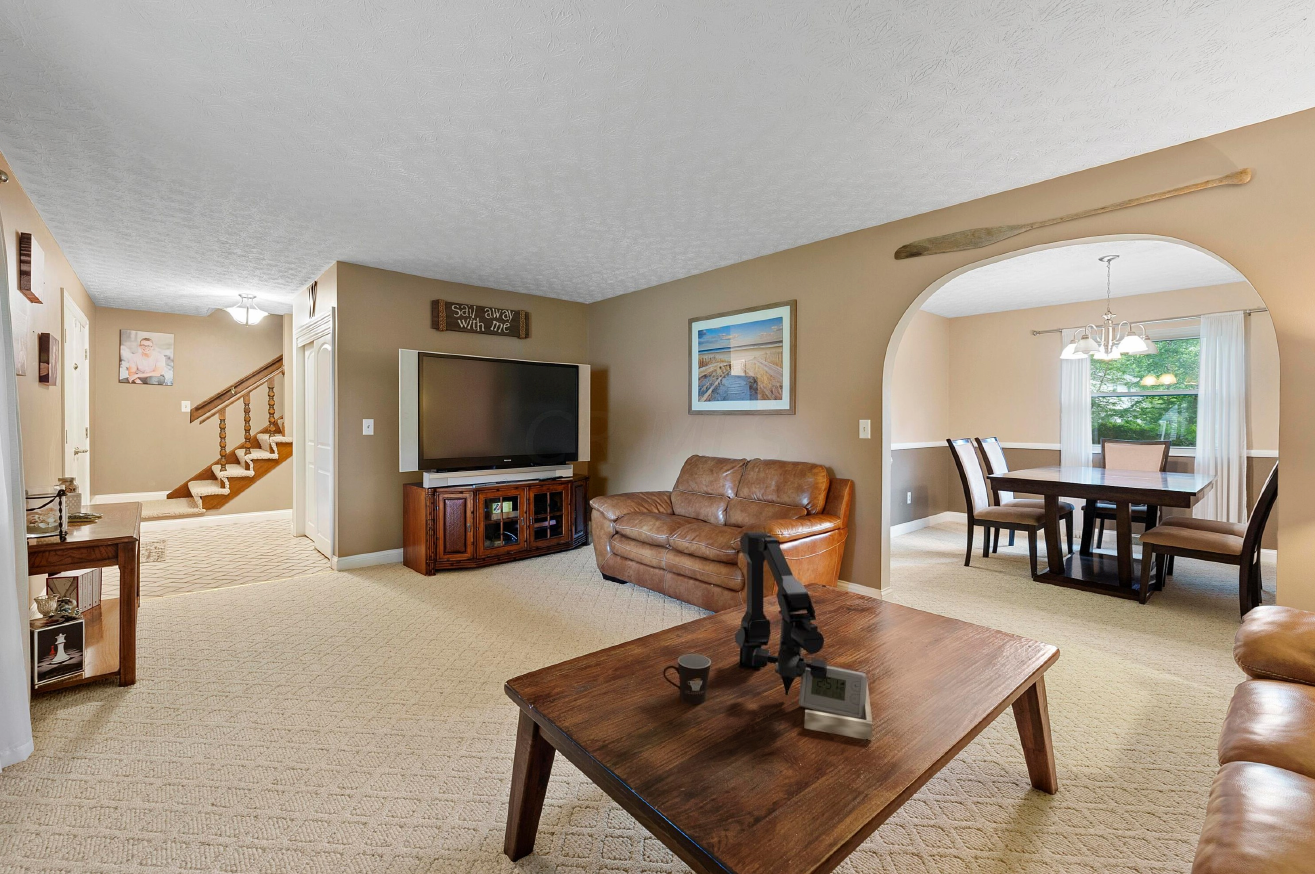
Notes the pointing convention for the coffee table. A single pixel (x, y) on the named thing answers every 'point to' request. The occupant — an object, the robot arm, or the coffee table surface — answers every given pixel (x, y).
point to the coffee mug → (692, 677)
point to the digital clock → (835, 692)
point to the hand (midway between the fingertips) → (786, 694)
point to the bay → (841, 722)
